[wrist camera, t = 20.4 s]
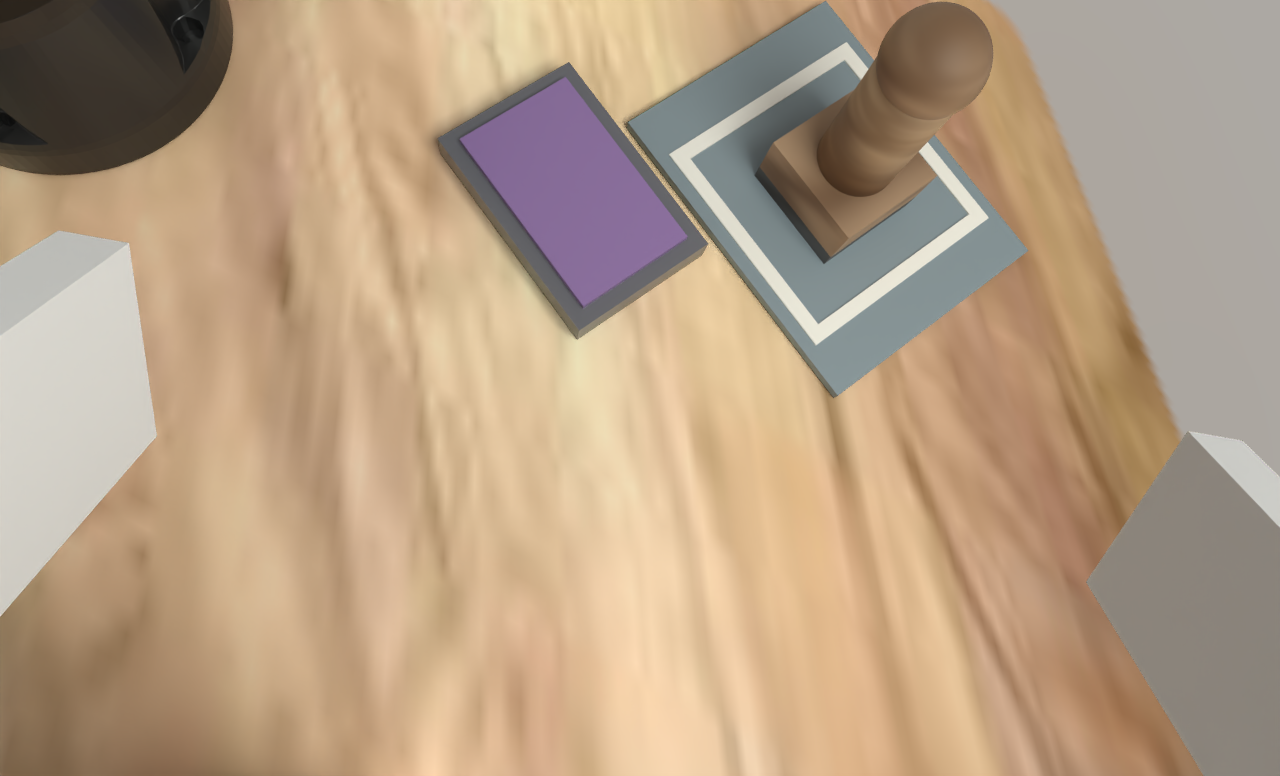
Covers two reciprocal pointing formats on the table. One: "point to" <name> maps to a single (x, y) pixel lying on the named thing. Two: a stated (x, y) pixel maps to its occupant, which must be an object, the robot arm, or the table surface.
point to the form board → (770, 244)
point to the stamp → (879, 129)
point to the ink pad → (572, 198)
